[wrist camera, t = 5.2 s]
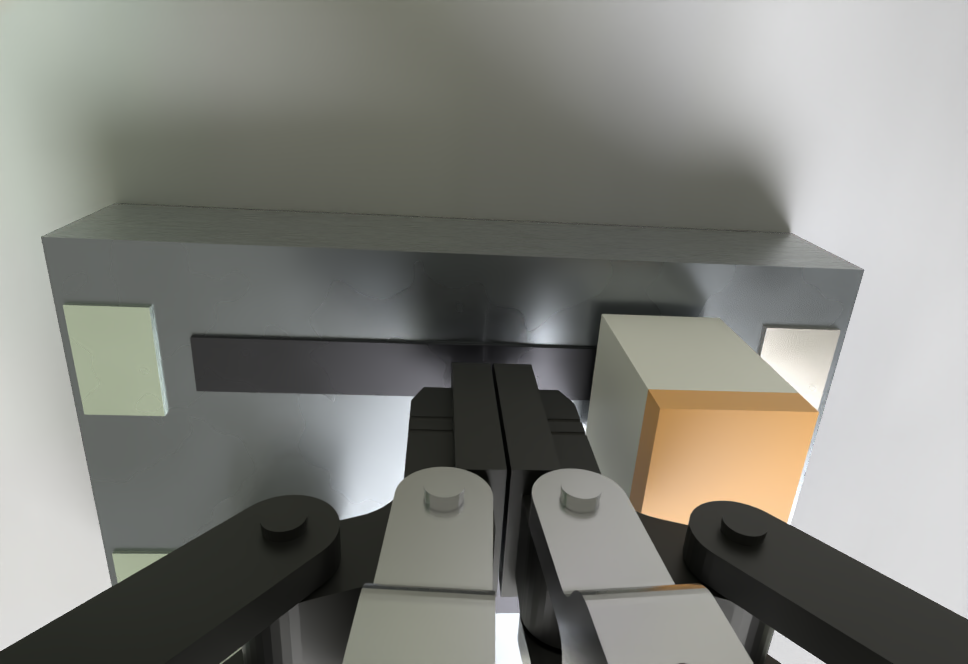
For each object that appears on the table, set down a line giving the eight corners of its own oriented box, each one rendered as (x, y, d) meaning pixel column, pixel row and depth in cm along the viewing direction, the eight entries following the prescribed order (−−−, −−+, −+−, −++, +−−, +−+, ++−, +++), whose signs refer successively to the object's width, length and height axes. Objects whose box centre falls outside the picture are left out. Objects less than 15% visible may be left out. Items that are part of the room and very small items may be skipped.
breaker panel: (792, 233, 16) (866, 271, 13) (708, 581, 20) (751, 667, 18) (114, 203, 15) (38, 238, 12) (173, 580, 19) (127, 671, 16)
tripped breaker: (719, 317, 13) (819, 412, 10) (692, 445, 14) (773, 571, 11) (601, 313, 13) (660, 408, 10) (584, 444, 14) (630, 571, 11)
